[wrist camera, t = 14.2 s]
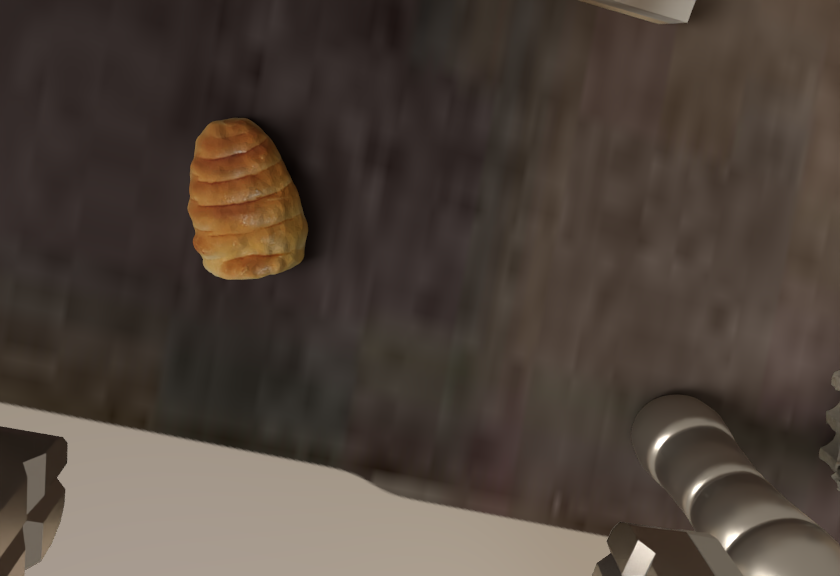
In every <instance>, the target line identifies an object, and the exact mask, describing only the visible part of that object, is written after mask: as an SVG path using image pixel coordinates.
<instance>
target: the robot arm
mask: <svg viewBox="0 0 840 576" xmlns="http://www.w3.org/2000/svg"><path fill="white" fill-rule="evenodd" d="M66 464H67V442H66V441H65V439H64V438H63V437H59V436H53V435H47V434H41V433H36V432H30V431H24V430H18V429H12V428H7V427H0V576H24V572H25V570H26V569H28V568H30V567H32V566H33V565H35V564H37V563H39V562H40V561H41V560H42V559H43V557H44V555H45V554H46V552H47V550H48V549H49V547H50V546H51V544H52V542H53V539H54V536H55V534H56V532H57V529H58V527H59V524H60V522H61V517H62V513H63V508H64V502H65V488H64V487H63V486H62V484H61V483H60V482H59V480H58V479H57V477H58V475H59V474H60V472H61V471H62V470H63V468H64V466H65V465H66ZM607 544H608V547H609V549H610V552H611V554H609V555H608V556H606V557H605V558H603V559H602V560H601V561H599V562H598V563H597V564H596V567H595V569H594V572H593V574H592V576H743V574H742V573H741V572H740V570H739V569H738V567H737V566H736V564H735V563H734V562H733V560H732V559H731V557H730V556H729V555H728V553H727V552H726V550H725V549H724V547H723V546H722V545H721V543H720V542H719V540H718V539H716V538H715V537H714V536H712V535H711V534H709V533H705V532H697V531H688V530H680V529H679V530H673V529H666V528H660V527H653V526H646V525H639V524H632V523H625V522H619V523H618V524H617V525H616V526H615V527H614V528H613V529H612V531H611V533H610V535H609V537H608V539H607Z"/></svg>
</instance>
